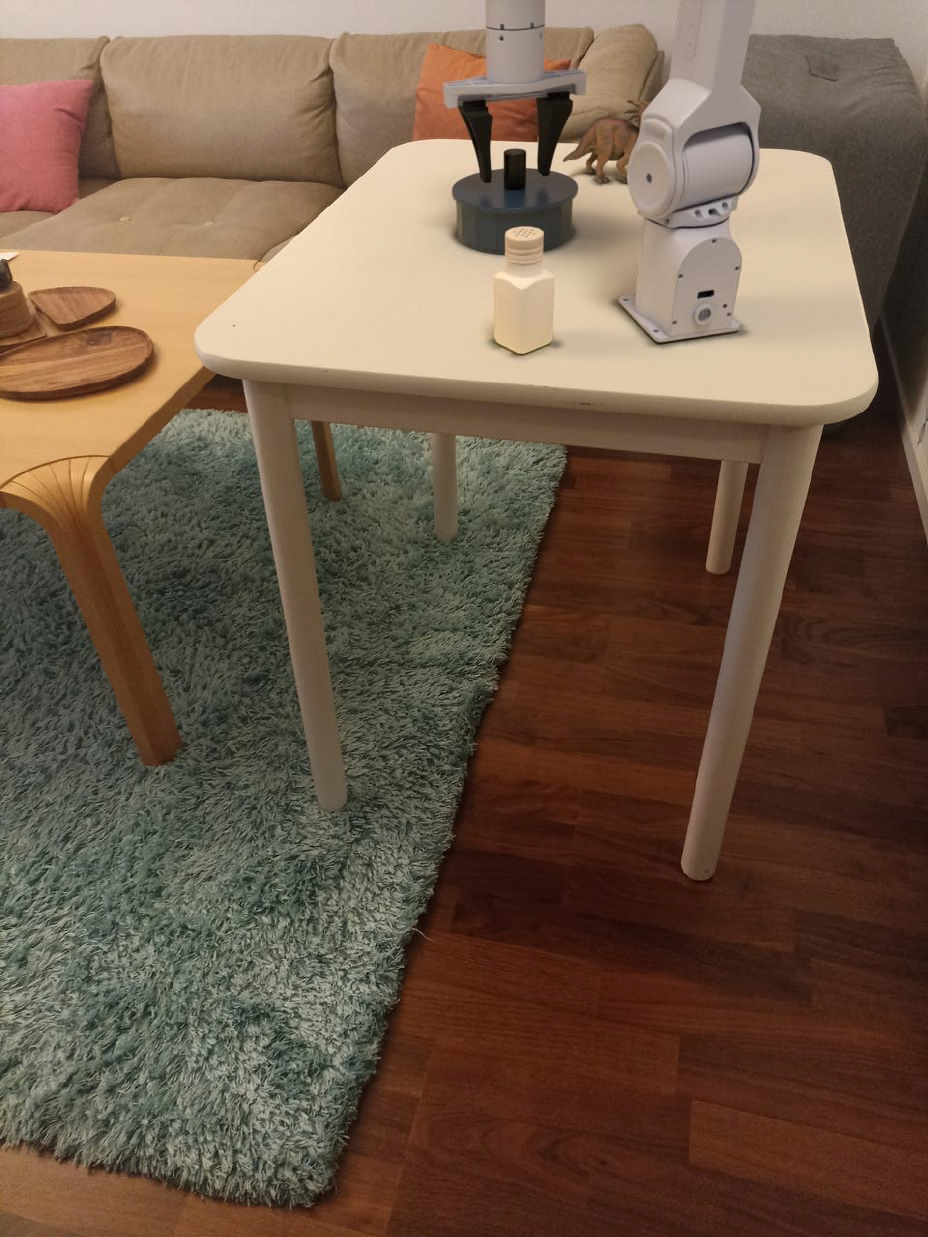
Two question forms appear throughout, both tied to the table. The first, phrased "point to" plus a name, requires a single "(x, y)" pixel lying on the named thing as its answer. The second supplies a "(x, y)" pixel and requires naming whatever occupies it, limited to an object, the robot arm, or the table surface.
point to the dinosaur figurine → (610, 142)
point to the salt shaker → (523, 293)
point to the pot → (512, 226)
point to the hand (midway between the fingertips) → (514, 176)
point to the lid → (515, 188)
